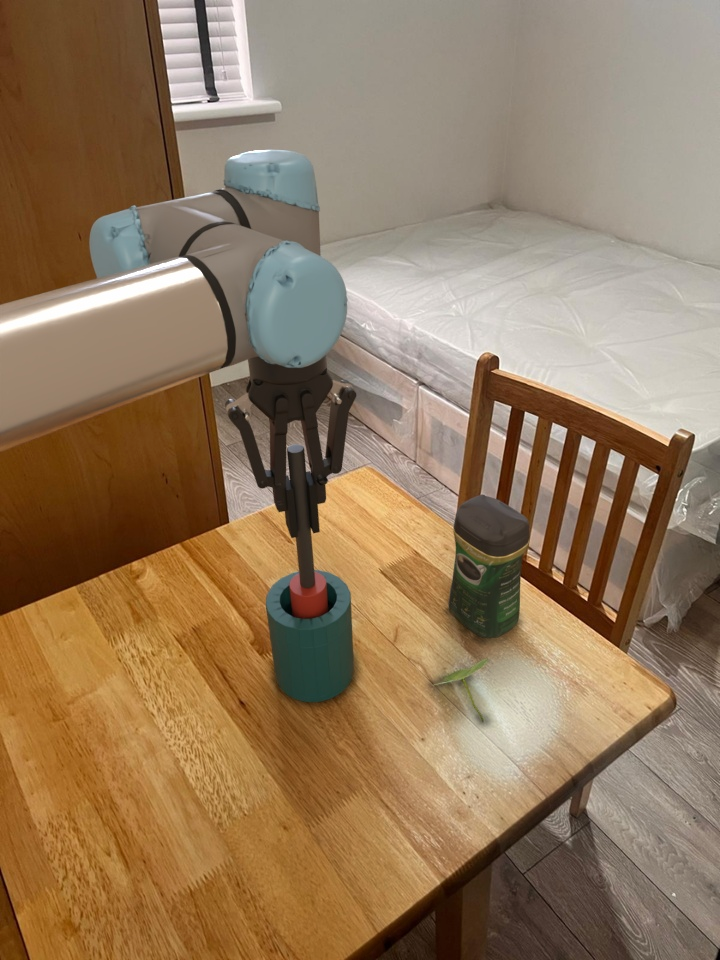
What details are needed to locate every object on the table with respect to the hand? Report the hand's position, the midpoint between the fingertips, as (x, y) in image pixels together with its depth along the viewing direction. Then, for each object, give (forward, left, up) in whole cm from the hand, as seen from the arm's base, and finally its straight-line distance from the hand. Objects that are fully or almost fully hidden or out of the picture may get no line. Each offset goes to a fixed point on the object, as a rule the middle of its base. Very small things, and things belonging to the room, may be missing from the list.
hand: (302, 527), depth 82 cm
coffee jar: (+25, +2, -24) cm, 35 cm away
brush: (0, 0, -13) cm, 13 cm away
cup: (0, 0, -24) cm, 24 cm away
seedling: (+16, -10, -24) cm, 30 cm away
